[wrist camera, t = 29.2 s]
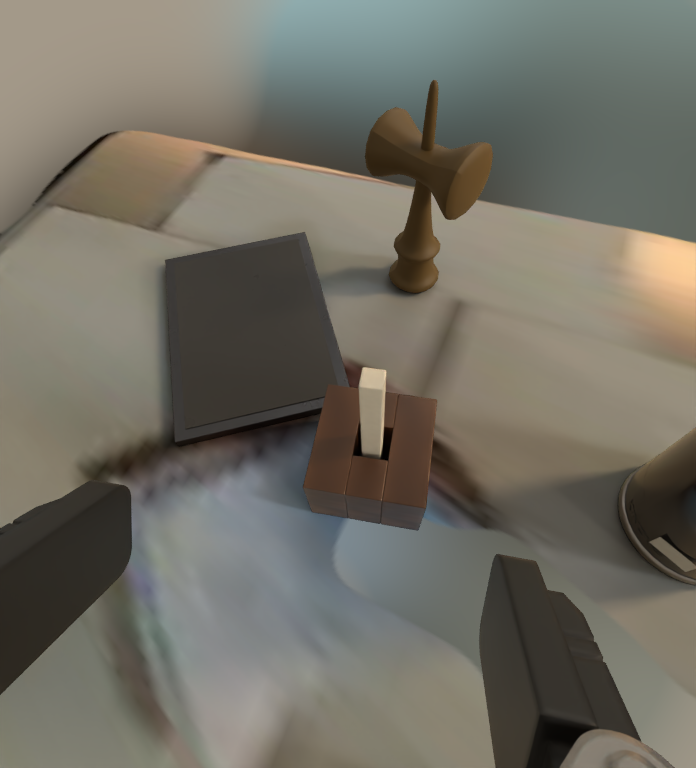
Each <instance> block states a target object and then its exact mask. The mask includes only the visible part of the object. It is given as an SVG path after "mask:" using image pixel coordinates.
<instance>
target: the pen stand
mask: <svg viewBox="0 0 696 768" xmlns="http://www.w3.org/2000/svg"><path fill="white" fill-rule="evenodd" d="M436 406H437V400H436V399H429V398H422V397H415V396H408V395H401V394H399V395H398V394H395V393H388V392H385V411H384V432H383V453H382V458H388V461H386V460H379V459H373V458H367V457H360V454H362V446H361V425H360V404H359V388H352V387H345V386H337V385H330V384H328V387H327V391H326V395H325V399H324V403H323V407H322V411H321V415H320V419H319V423H318V427H317V431H316V436H315V440H314V444H313V448H312V452H311V456H310V460H309V464H308V468H307V472H306V476H305V480H304V485H303V489H304V492H305V494H306V497H307V500H308V502H309V505H310V508H311V510H312V512H315V513H321V514H326V515H332V516H338V517H343V518H348V517H349V518H350V519H355V520H361V521H366V522H372V523H378V524H380V523H381V524H384V525H389V526H395V527H400V528H406V529H412V530H419V527H420V524H421V521H422V518H423V515H424V512H425V509H426V503H427V494H428V484H429V474H430V464H431V455H432V445H433V435H434V426H435V416H436Z"/></svg>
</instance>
